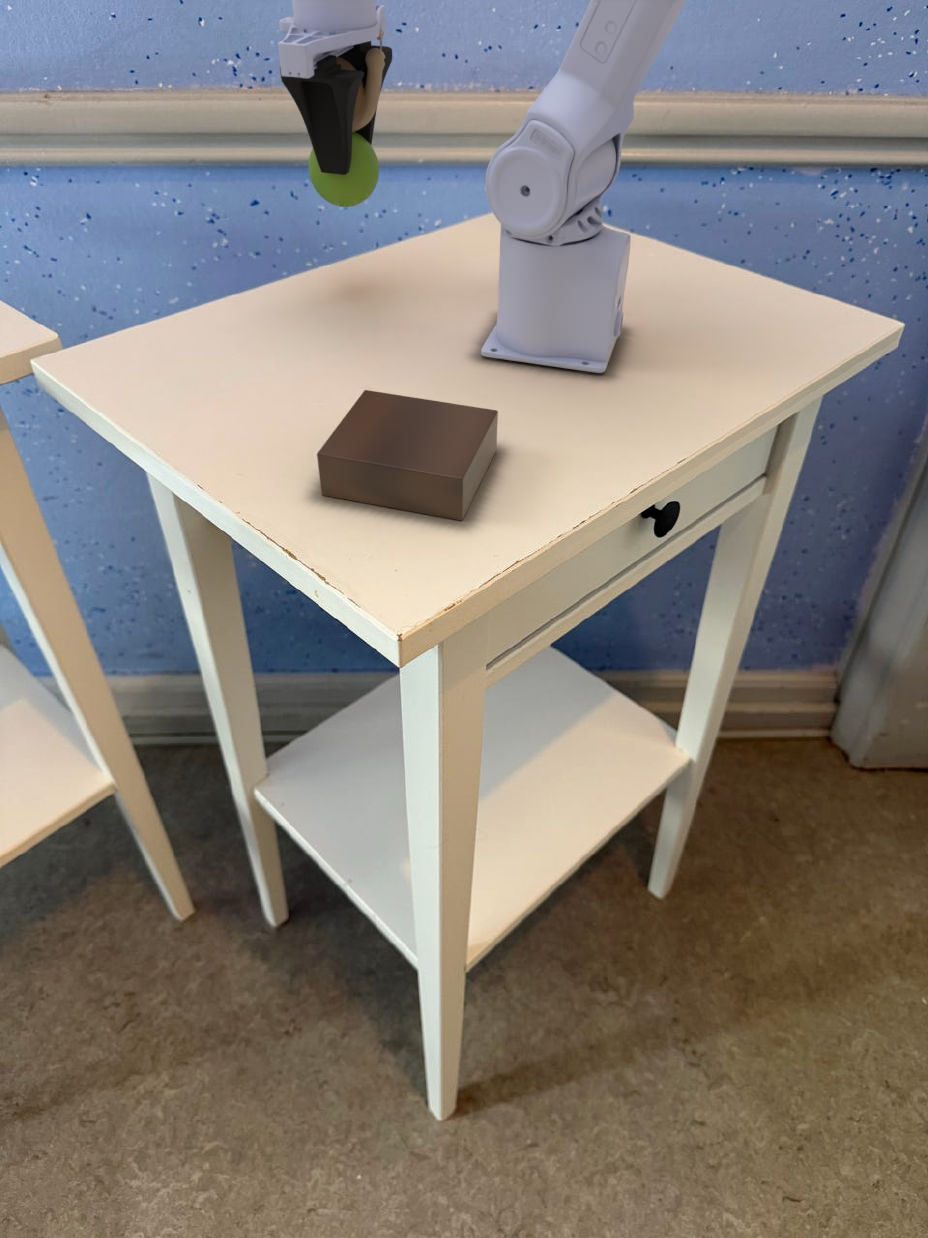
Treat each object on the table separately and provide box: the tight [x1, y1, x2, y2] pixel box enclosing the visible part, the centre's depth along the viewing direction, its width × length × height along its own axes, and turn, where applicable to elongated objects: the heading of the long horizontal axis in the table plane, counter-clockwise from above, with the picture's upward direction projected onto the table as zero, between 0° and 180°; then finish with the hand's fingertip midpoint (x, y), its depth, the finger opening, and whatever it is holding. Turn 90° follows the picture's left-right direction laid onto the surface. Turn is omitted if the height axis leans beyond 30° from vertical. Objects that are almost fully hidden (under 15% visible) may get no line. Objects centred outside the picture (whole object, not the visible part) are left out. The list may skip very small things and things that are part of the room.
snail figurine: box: [308, 29, 385, 208], centre depth 68 cm, size 5×6×12 cm
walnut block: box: [316, 389, 499, 521], centre depth 56 cm, size 9×8×3 cm
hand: (345, 163), depth 70 cm, fingers closed on snail figurine, 3 cm apart
